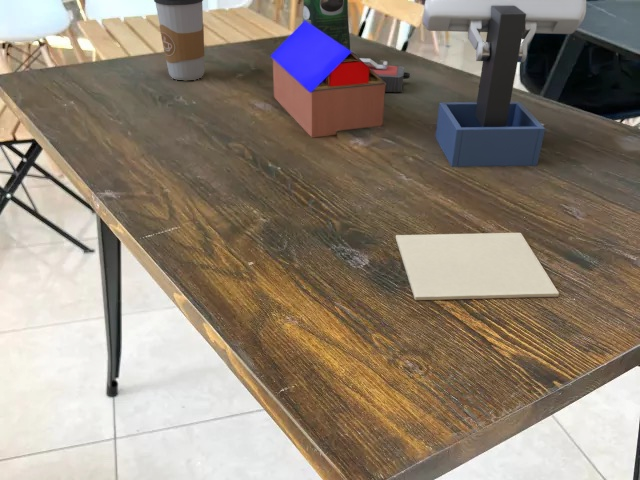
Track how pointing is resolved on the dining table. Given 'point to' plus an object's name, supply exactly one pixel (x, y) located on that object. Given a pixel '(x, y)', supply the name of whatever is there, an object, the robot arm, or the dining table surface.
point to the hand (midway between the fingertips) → (501, 59)
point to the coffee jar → (329, 18)
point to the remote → (499, 65)
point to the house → (325, 84)
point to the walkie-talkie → (388, 74)
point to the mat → (473, 267)
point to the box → (488, 137)
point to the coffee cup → (182, 37)
